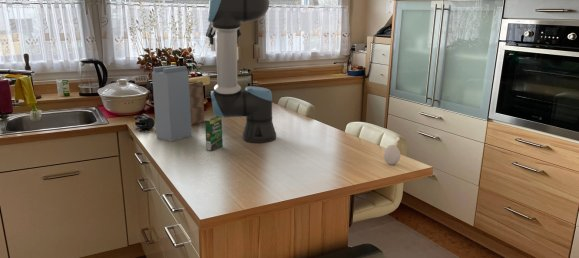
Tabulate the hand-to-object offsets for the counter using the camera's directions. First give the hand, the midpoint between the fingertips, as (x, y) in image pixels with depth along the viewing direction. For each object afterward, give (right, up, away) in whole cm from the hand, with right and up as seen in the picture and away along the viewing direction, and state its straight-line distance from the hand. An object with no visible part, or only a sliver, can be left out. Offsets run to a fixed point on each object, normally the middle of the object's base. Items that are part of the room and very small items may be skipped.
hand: (224, 50), depth 226 cm
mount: (-20, -44, -22) cm, 53 cm away
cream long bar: (-17, -18, +4) cm, 25 cm away
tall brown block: (-19, -36, +6) cm, 41 cm away
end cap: (-38, -40, -8) cm, 56 cm away
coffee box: (+2, -48, -39) cm, 62 cm away
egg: (+72, -53, -58) cm, 107 cm away
